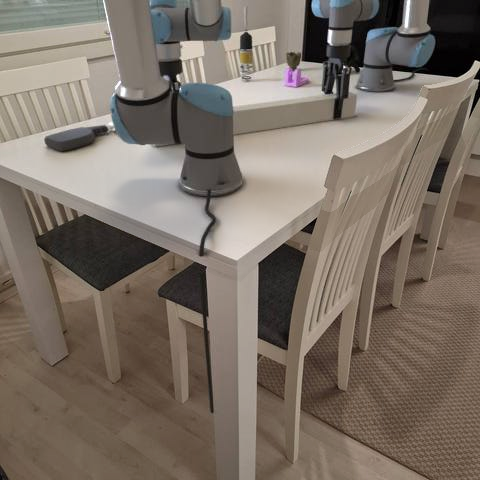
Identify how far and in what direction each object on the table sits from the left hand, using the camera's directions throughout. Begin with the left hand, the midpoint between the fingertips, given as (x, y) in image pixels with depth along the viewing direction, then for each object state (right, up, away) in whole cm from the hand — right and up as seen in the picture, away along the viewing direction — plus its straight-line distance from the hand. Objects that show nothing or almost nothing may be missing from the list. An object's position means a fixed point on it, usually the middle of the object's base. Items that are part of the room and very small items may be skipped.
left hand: (175, 134), depth 137 cm
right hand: (+52, +11, +18) cm, 56 cm away
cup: (+46, +52, +86) cm, 111 cm away
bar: (+26, +4, +10) cm, 28 cm away
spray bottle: (-28, -1, +4) cm, 28 cm away
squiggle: (+73, +49, +80) cm, 119 cm away
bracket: (+46, +37, +62) cm, 85 cm away
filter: (+23, +41, +68) cm, 82 cm away
